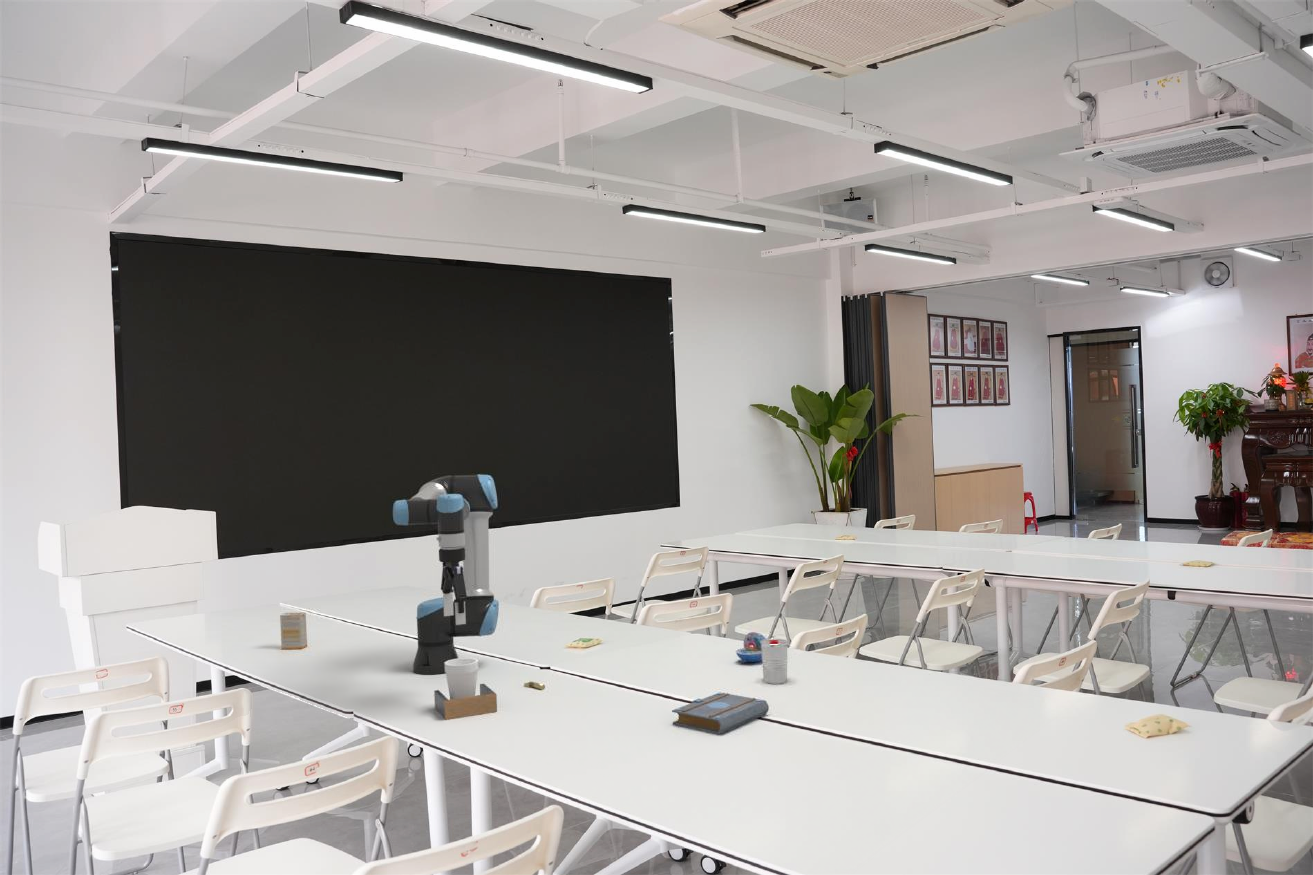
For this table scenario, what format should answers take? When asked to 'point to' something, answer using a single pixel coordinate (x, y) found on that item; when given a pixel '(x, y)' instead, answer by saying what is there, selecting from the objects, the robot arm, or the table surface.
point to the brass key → (534, 685)
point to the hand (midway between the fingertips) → (454, 619)
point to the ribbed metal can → (774, 660)
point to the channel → (466, 704)
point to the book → (720, 712)
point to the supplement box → (293, 630)
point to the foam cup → (461, 677)
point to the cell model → (751, 648)
